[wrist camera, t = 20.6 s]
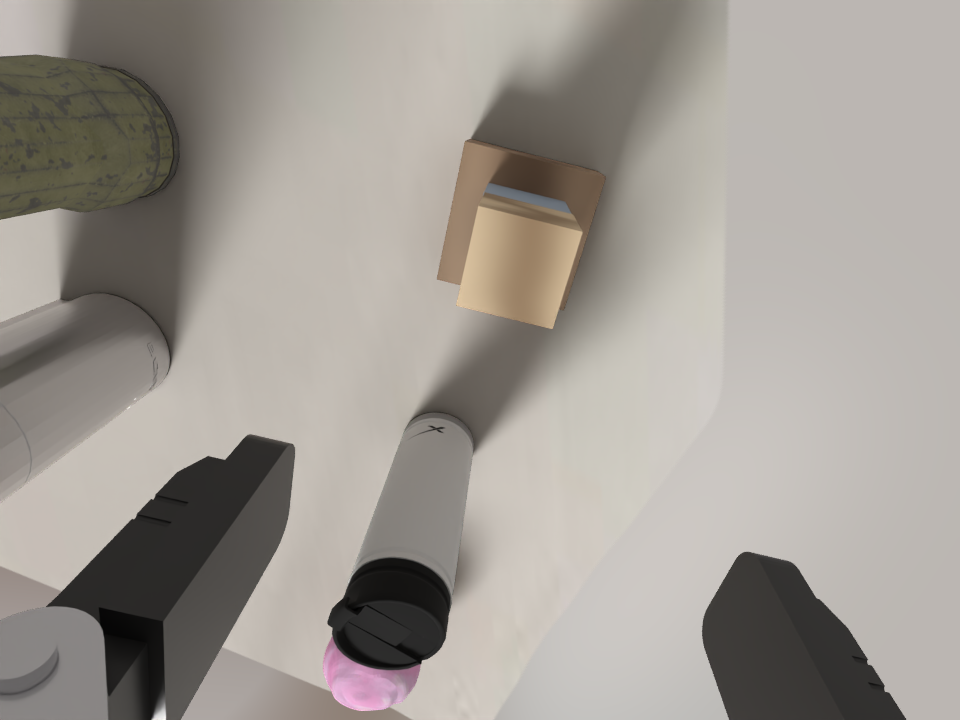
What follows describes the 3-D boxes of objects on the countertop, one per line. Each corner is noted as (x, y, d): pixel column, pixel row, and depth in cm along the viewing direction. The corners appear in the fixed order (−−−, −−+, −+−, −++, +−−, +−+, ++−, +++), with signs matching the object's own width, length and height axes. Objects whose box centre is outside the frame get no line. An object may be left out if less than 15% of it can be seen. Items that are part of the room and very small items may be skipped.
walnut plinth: (444, 264, 40) (436, 279, 37) (470, 138, 37) (465, 141, 33) (559, 293, 41) (563, 310, 37) (597, 171, 37) (605, 177, 33)
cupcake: (331, 609, 57) (295, 703, 47) (371, 559, 53) (340, 650, 44) (403, 646, 58) (382, 744, 49) (446, 600, 55) (432, 696, 46)
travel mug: (428, 395, 45) (366, 582, 27) (488, 439, 47) (468, 646, 28) (385, 442, 47) (301, 644, 29) (444, 483, 49) (399, 701, 31)
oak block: (465, 278, 32) (456, 305, 27) (484, 192, 29) (478, 205, 25) (548, 298, 32) (552, 329, 27) (573, 214, 30) (582, 231, 25)
